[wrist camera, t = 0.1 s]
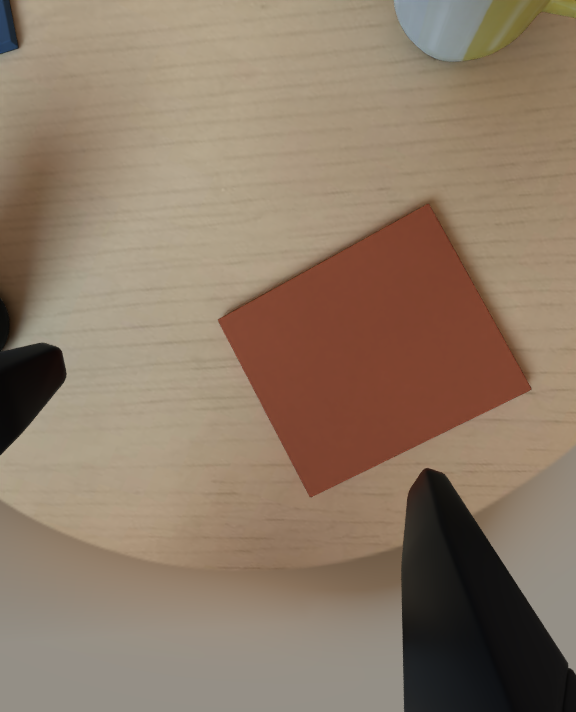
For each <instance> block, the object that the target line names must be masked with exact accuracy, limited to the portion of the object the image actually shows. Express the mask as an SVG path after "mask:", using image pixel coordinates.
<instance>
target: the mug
mask: <svg viewBox="0 0 576 712" xmlns="http://www.w3.org/2000/svg"><path fill="white" fill-rule="evenodd" d="M394 6H395V11H396V15H397V18H398V20H399V23H400V25H401V27H402V29H403V30H404V32H405V33H406V35H407V36H408V37H409V39H410V40H411V41H412V42H413V43H414V44H415V45H416V46H417V47H419V48H420V49H421V50H422V51H423V52H425V53H426V54H427V55H429V56H431V57H433V58H435V59H438V60H442V61H450V62H456V61H466V60H473V59H478V58H481V57H484V56H487V55H490V54H492V53H495V52H497V51H498V50H500V49H501V48H503V47H505V46H507V45H508V44H509V43H511V42H512V41H513V40H515V39H516V38H517V37H518V36H519V35H520V34H521V33H522V32H523V31H524V30H525V29H526V28H527V27H528V26H529V25H530V23H531V22H532V21H533V20H534V19H535V17H536V16H537V15H538V14H539V13H540V12H547V13H552V14H557V15H562V16H567V17H572V18H576V0H394Z"/></svg>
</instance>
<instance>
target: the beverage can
mask: <svg viewBox="0 0 576 712" xmlns="http://www.w3.org/2000/svg"><path fill="white" fill-rule="evenodd" d="M8 334H9V316H8V312H7V309H6V307H5V305H4V303H3V301H2V300H1V298H0V352H1V350H2V349H3V347H4V345H5V343H6V341H7V338H8Z"/></svg>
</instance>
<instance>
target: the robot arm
mask: <svg viewBox="0 0 576 712" xmlns="http://www.w3.org/2000/svg"><path fill="white" fill-rule="evenodd" d="M65 379H66V368H65V363H64V359H63V354H62V351H61V350H60V348H58V347H56V346H53V345H50V344H47V343H37V344H33V345H28V346H24V347H20V348H15V349H11V350H6V351H2V352H0V455H1V454H2V453H3V452H4V451H5V450H6V449H7V448H8V447H9V446H10V445H11V444H12V443H13V442H14V441H15V440H16V439H17V438H18V437H19V436H20V435H21V434H22V433H23V431H24V430H25V429H26V428H27V427H28V426H29V424H30V423H31V422H32V421H33V420H34V418H35V417H36V416H37V415H38V413H39V412H40V411H41V410H42V409H43V407H44V406H45V405H46V404H47V402H48V401H49V400H50V399H51V398H52V396H53V395H54V394H55V393H56V391H57V390H58V389H59V388H60V387H61V385H62V384H63V383H64V381H65ZM401 572H402V573H401V580H402V628H403V674H404V676H403V677H404V712H576V674H575V673H574V671H573V670H572V669H570V668H568V662H567V661H566V660H565V658H564V656H563V655H562V653H561V652H560V650H559V649H558V647H557V646H556V644H555V642H554V641H553V639H552V638H551V636H550V635H549V633H548V632H547V630H546V629H545V627H544V625H543V624H542V622H541V621H540V619H539V618H538V616H537V615H536V613H535V612H534V610H533V609H532V607H531V606H530V604H529V603H528V601H527V599H526V598H525V596H524V595H523V593H522V592H521V590H520V589H519V587H518V586H517V584H516V582H515V581H514V579H513V578H512V576H511V575H510V574H509V572H508V570H507V569H506V567H505V566H504V564H503V562H502V561H501V559H500V558H499V556H498V555H497V553H496V552H495V550H494V549H493V547H492V546H491V544H490V542H489V541H488V539H487V538H486V536H485V535H484V533H483V532H482V530H481V529H480V527H479V526H478V524H477V522H476V521H475V519H474V518H473V516H472V515H471V513H470V512H469V510H468V509H467V507H466V506H465V504H464V502H463V501H462V499H461V498H460V496H459V495H458V493H457V492H456V490H455V489H454V487H453V486H452V484H451V482H450V481H449V479H448V478H447V476H446V475H445V474H443V473H441V472H438V471H435V470H432V469H429V468H425V469H424V470H423V471H422V472H421V473H420V475H419V476H418V478H417V479H416V481H415V482H414V484H413V485H412V487H411V488H410V490H409V493H408V498H407V508H406V519H405V530H404V541H403V552H402V568H401Z"/></svg>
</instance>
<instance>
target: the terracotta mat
mask: <svg viewBox="0 0 576 712" xmlns="http://www.w3.org/2000/svg"><path fill="white" fill-rule="evenodd" d="M218 322H219V324H220V325H221V327H222V329H223V331H224V333H225V335H226V337H227V339H228V341H229V343H230V345H231V347H232V348H233V350H234V352H235V354H236V356H237V358H238V360H239V362H240V364H241V366H242V368H243V370H244V372H245V373H246V375H247V377H248V379H249V381H250V383H251V385H252V387H253V389H254V391H255V393H256V395H257V397H258V398H259V400H260V402H261V404H262V406H263V408H264V410H265V412H266V414H267V416H268V418H269V420H270V421H271V423H272V425H273V427H274V429H275V431H276V433H277V435H278V437H279V439H280V441H281V443H282V445H283V446H284V448H285V450H286V452H287V454H288V456H289V458H290V460H291V462H292V464H293V466H294V468H295V469H296V471H297V473H298V475H299V477H300V479H301V481H302V483H303V485H304V487H305V489H306V491H307V493H308V494H309V496H310V497H313V496H315V495H317V494H319V493H321V492H323V491H325V490H327V489H329V488H331V487H333V486H335V485H337V484H339V483H341V482H343V481H345V480H347V479H350V478H352V477H354V476H356V475H358V474H360V473H362V472H364V471H366V470H368V469H370V468H372V467H374V466H376V465H378V464H380V463H382V462H384V461H386V460H388V459H390V458H393V457H395V456H397V455H399V454H401V453H403V452H405V451H407V450H409V449H411V448H413V447H415V446H417V445H419V444H421V443H423V442H425V441H427V440H429V439H431V438H433V437H436V436H438V435H440V434H442V433H444V432H446V431H448V430H450V429H452V428H454V427H456V426H458V425H460V424H462V423H464V422H466V421H468V420H470V419H472V418H474V417H476V416H479V415H481V414H483V413H485V412H487V411H489V410H491V409H493V408H495V407H497V406H499V405H501V404H503V403H505V402H507V401H509V400H511V399H513V398H515V397H517V396H519V395H522V394H524V393H526V392H528V391H530V390H531V387H530V385H529V383H528V381H527V380H526V378H525V376H524V374H523V372H522V371H521V369H520V367H519V365H518V363H517V362H516V360H515V358H514V356H513V354H512V353H511V351H510V349H509V347H508V345H507V344H506V342H505V340H504V338H503V336H502V335H501V333H500V331H499V329H498V327H497V326H496V324H495V322H494V320H493V318H492V317H491V315H490V313H489V311H488V309H487V308H486V306H485V304H484V302H483V300H482V299H481V297H480V295H479V293H478V291H477V290H476V288H475V286H474V284H473V282H472V281H471V279H470V277H469V275H468V273H467V271H466V270H465V268H464V266H463V264H462V262H461V261H460V259H459V257H458V255H457V253H456V252H455V250H454V248H453V246H452V244H451V243H450V241H449V239H448V237H447V235H446V234H445V232H444V230H443V228H442V226H441V225H440V223H439V221H438V219H437V217H436V216H435V214H434V212H433V210H432V208H431V207H430V205H429V204H426V205H425V206H423V207H421V208H419V209H417V210H416V211H414V212H412V213H410V214H408V215H406V216H405V217H403V218H401V219H399V220H397V221H396V222H394V223H392V224H390V225H388V226H387V227H385V228H383V229H381V230H379V231H377V232H376V233H374V234H372V235H370V236H368V237H367V238H365V239H363V240H361V241H359V242H358V243H356V244H354V245H352V246H350V247H349V248H347V249H345V250H343V251H341V252H339V253H338V254H336V255H334V256H332V257H330V258H329V259H327V260H325V261H323V262H321V263H320V264H318V265H316V266H314V267H312V268H310V269H309V270H307V271H305V272H303V273H301V274H300V275H298V276H296V277H294V278H292V279H291V280H289V281H287V282H285V283H283V284H282V285H280V286H278V287H276V288H274V289H272V290H271V291H269V292H267V293H265V294H263V295H262V296H260V297H258V298H256V299H254V300H253V301H251V302H249V303H247V304H245V305H243V306H242V307H240V308H238V309H236V310H234V311H233V312H231V313H229V314H227V315H225V316H224V317H222V318H220V319H218Z"/></svg>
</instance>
